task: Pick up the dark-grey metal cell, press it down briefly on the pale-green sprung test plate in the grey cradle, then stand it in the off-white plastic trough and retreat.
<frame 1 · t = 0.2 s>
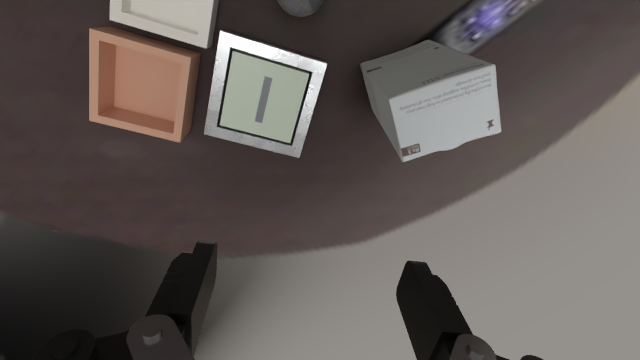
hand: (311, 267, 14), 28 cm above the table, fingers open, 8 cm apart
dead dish: (153, 82, 37), on the table
skincare box: (396, 77, 39), on the table
cradle housing: (265, 94, 38), on the table
test plate: (263, 98, 37), point 2 cm above the table, slide at -0.5 cm
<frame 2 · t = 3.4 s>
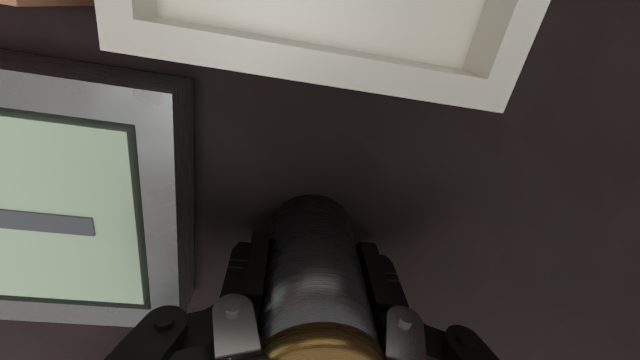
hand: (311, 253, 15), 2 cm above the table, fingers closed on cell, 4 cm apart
cell: (310, 230, 16), on the table, touching gripper
cradle housing: (63, 187, 15), on the table
test plate: (34, 209, 13), point 2 cm above the table, slide at -0.5 cm
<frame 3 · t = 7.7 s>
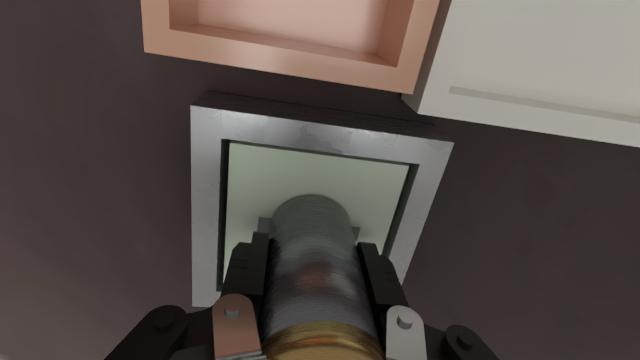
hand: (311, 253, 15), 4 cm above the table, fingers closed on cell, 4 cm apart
cell: (310, 229, 16), point 2 cm above the table, touching gripper, test plate
trough: (568, 19, 15), on the table
cradle housing: (307, 205, 18), on the table
test plate: (308, 220, 17), point 1 cm above the table, slide at -0.9 cm, touching cell
when the fingers open (3 cm above the table, at t = 13.3 s): cell stays where it is, resting on trough.
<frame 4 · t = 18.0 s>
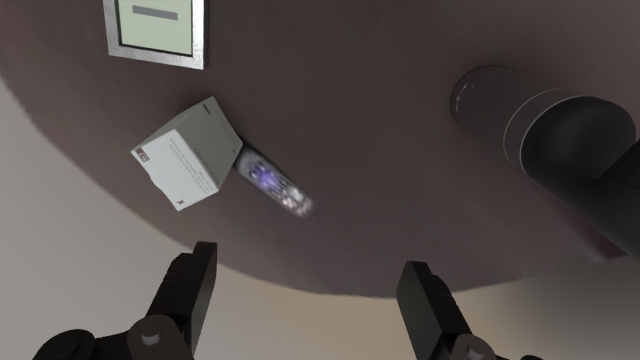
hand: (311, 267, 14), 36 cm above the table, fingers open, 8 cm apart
skincare box: (210, 127, 48), on the table
cradle housing: (161, 12, 41), on the table
test plate: (157, 12, 40), point 1 cm above the table, slide at -0.9 cm
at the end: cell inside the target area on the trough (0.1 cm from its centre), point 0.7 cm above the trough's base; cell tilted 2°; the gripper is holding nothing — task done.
